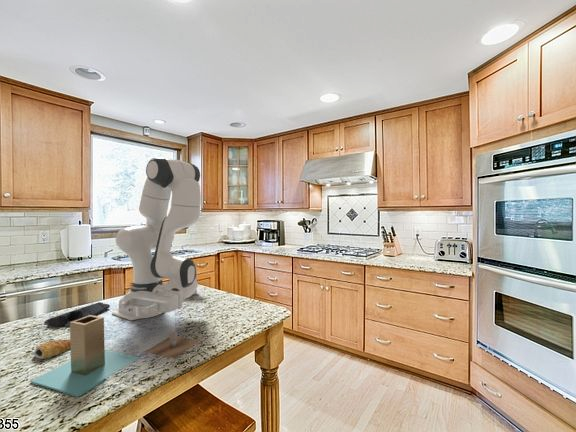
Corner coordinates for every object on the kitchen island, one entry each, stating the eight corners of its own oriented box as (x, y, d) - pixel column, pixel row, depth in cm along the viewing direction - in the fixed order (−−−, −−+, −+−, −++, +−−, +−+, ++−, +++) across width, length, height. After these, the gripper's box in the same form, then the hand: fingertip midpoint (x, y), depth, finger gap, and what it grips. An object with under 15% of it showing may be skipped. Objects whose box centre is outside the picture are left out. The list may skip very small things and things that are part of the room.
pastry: (65, 343, 94) (65, 332, 94) (77, 347, 92) (77, 336, 92) (31, 357, 86) (31, 345, 86) (43, 362, 83) (43, 349, 83)
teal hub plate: (30, 383, 73) (29, 365, 72) (96, 349, 90) (96, 335, 90) (77, 397, 67) (77, 378, 67) (139, 359, 84) (138, 343, 84)
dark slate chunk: (116, 310, 127) (116, 299, 127) (66, 330, 106) (66, 318, 106) (90, 306, 131) (90, 297, 131) (38, 325, 110) (37, 314, 110)
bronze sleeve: (71, 371, 77) (69, 322, 76) (91, 361, 82) (90, 315, 81) (85, 375, 75) (84, 325, 74) (104, 364, 80) (103, 317, 80)
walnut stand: (144, 353, 87) (144, 336, 87) (171, 337, 98) (171, 321, 98) (175, 360, 83) (175, 342, 83) (199, 341, 95) (199, 325, 95)
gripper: (142, 284, 107) (109, 295, 94) (185, 291, 101) (156, 303, 88) (142, 300, 107) (109, 313, 94) (185, 308, 101) (156, 322, 88)
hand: (132, 308), depth 91 cm, fingers open, 8 cm apart
